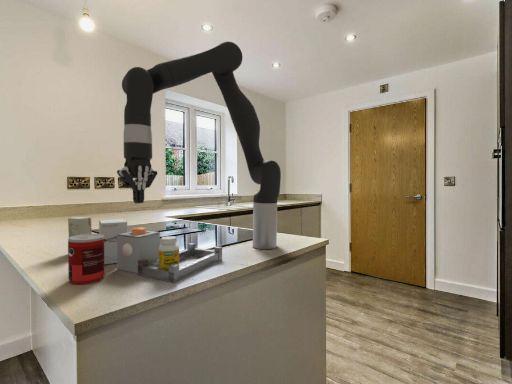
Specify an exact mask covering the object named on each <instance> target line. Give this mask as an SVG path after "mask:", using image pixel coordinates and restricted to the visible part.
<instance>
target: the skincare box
mask: <svg viewBox="0 0 512 384" xmlns="http://www.w3.org/2000/svg"><path fill="white" fill-rule="evenodd" d="M67 227H68V228H67V229H68V230H67V231H68V238H69V237H71V236H75V235H82V234H93V233H92V217H87V216H74V217H67Z"/></svg>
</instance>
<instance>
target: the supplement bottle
mask: <svg viewBox="0 0 512 384" xmlns="http://www.w3.org/2000/svg"><path fill="white" fill-rule="evenodd" d="M160 238H161V239H160V242H161V244H160V247H159V268H164V269H169V266H170V265H172V264H176V265H179V266H180V261H179V251H180V247H179V245H178V244H177V237H176V236H172V235H171V236H163V237H160Z"/></svg>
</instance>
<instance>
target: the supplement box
mask: <svg viewBox="0 0 512 384" xmlns="http://www.w3.org/2000/svg"><path fill="white" fill-rule="evenodd" d="M126 232H128V221H127V220H126V219H125V218H119V219H116V218H115V219H99V221H98V234H101V235H104V265H110V264H118V262H117V234H121V233H126Z"/></svg>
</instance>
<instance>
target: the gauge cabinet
mask: <svg viewBox="0 0 512 384" xmlns="http://www.w3.org/2000/svg"><path fill="white" fill-rule="evenodd" d="M160 238H161V234H160V232H159V231H153V230H146V234H142V235H132V234H131V231H127V232H126V233H121V234H117V262H118V263H117V270H121V271H126V272H129V273H130V272H131V273H135V274H138V260H140V259H148V262H151V261H154V260H157V259H159V247H160V246H161V244H160V242H161V239H160Z"/></svg>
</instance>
